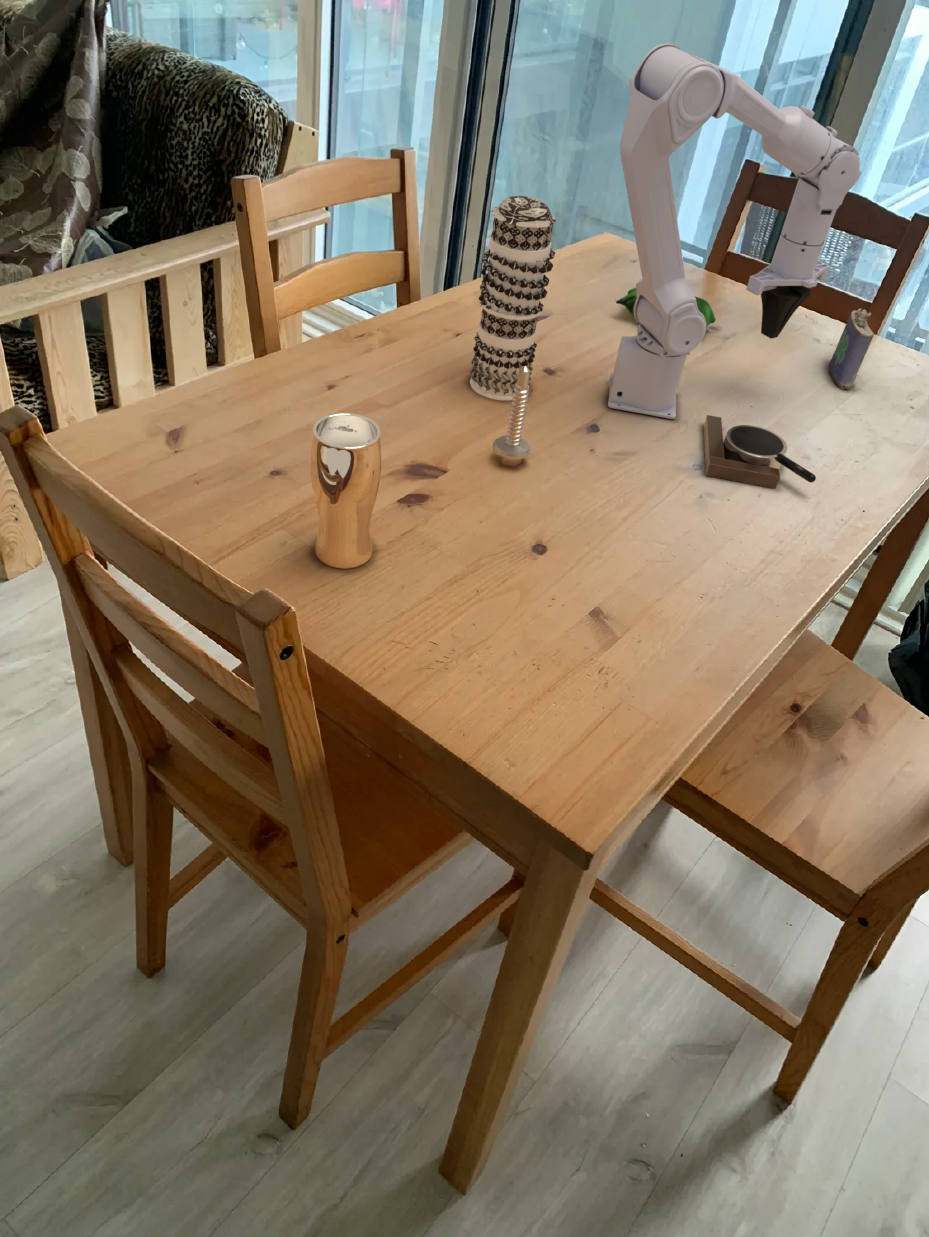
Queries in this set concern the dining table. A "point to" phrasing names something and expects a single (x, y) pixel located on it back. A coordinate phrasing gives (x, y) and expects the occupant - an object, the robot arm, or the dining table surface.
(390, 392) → the dining table surface
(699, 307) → the snack package
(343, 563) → the beer glass
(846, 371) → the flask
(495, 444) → the screw
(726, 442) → the steel pan
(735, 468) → the corner stop
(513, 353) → the decorative candle
